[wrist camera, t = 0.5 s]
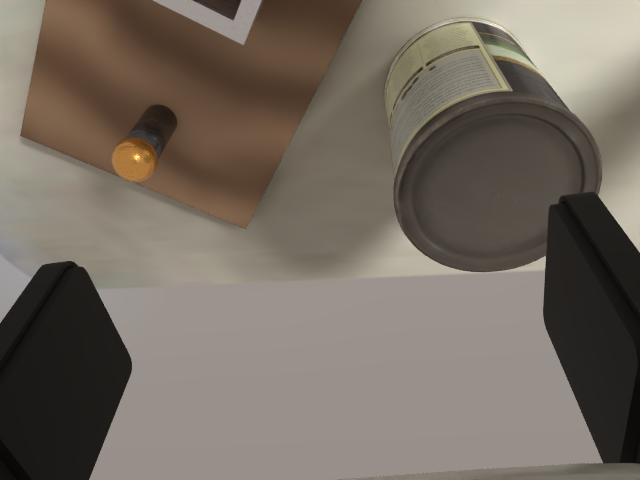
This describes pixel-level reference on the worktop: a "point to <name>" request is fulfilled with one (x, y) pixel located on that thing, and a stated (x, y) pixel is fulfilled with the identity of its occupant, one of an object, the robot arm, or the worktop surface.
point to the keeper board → (182, 91)
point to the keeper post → (144, 144)
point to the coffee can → (480, 147)
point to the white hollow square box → (220, 15)
